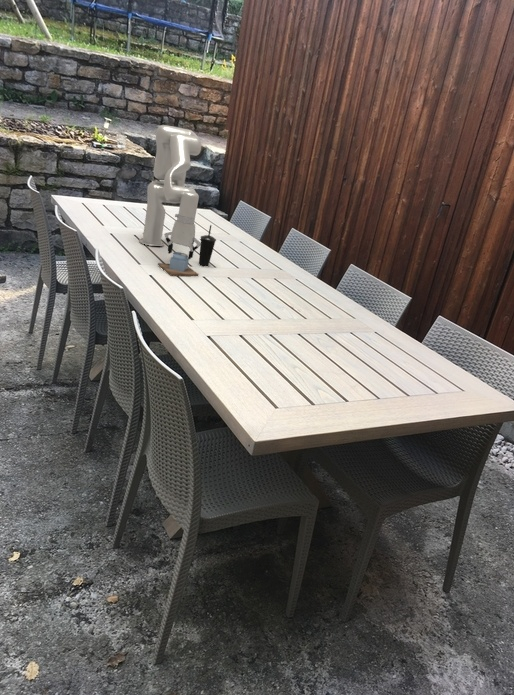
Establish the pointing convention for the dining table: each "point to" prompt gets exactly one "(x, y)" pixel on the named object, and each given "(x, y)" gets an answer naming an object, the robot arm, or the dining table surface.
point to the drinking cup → (206, 249)
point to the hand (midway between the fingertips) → (179, 255)
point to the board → (177, 273)
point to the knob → (179, 261)
